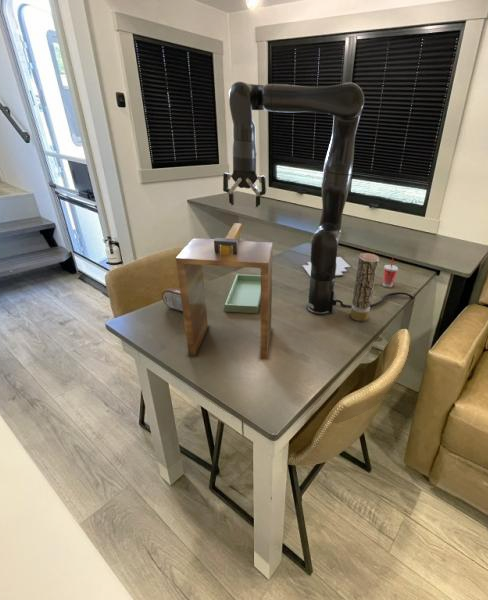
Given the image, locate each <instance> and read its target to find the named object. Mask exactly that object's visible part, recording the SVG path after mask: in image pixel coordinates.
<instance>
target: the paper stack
mask: <svg viewBox="0 0 488 600" xmlns="http://www.w3.org/2000/svg"><path fill="white" fill-rule="evenodd" d="M306 263H307V264H303V265H302V267H303V269H304V270H305V271H306V274H308V276H309V277H310V276H311V261H307V262H306ZM336 264H337V265H336V273H335V276H343V275H344V273H343V272H348V270H347V269H346V268H351V265H350V264H349V263H348V262H347V261H346V260H344V259H343V258H342V256H336Z"/></svg>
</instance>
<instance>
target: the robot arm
mask: <svg viewBox="0 0 488 600" xmlns="http://www.w3.org/2000/svg"><path fill="white" fill-rule="evenodd" d="M228 94H229V95H228V103H229V104H228V105H229V110H230V116H231V121H232V173H229V172H227V171H226V172H224V173H223V178H222V179H223V180H222V191H223V192H224V193H227V194H228V203H229V204H230V205H231V206H234V205H235V193H234V192H235V190H236V189H237V188H240V189H247V190H248V189H251V190H252V191H253V192H254V194H255V208H258V207H259V206H260V205H261V197H262V196H264V195H266V193H267V185H266V176H265V175H264V174H263V175H258V174H257V145H256V144H257V143H256V124H255V122H254V120H253V111H267V112H273V113H319V114H324V115H325V114H326V115H330V116H333V123H332V131H331V133H332V134H331V138H330V142H329V145H328V150H327V152H326V156H325V159H324V164H323V170H322V179H321V202H322V203H321V205H322V209H321V216H320V220H319V224H318V227H317V230H316V231H315V232H314V233H313V236H312V239H311V243H310V244H311V245H310V246H311V247H310V262H311V276H310V275H309V279H310V280H309V290H308V302H307V310H308V311H309V312H310V313H312V314H315V315H327V314H332V312H333V306H334V307H336V306H337V303H339V305H340V306H342V307H344V308H351V307H352V305H347V304H344V303H343V301H341V300H340V299H337V296H336V294H335V280H336V275H335V273H336V265H337V264H336V257H338V256H337V255H338V248H339V245H340V242H341V240H342V224H343V223H342V222H343V213H344V209H345V205H346V202H347V198H348V194H349V189H350V184H351V180H352V175H353V166H354V156H355V141H356V135H357V131H358V126H359V122H360V118H361V115H362V112H363V110H364V106H365V94H364V91H363V90H362V88H361V87H360V86H359V85H358V84H357V83H354V82H352V81H351V82H345V83H340V84H335V85H328V86H305V85H295V84H285V83H284V84H282V83H267V84H254V83H247V82H243V81H236V82H234V83H233V84H232V85H231V86H230V89H229V92H228ZM231 179H232V180H233V182H234V183H233V185H232V186H231V188H229V181H230V180H231ZM257 181H258V183H260V185H261V190H260V189H259V188H258V186H257V184H256V182H257ZM397 295H402V296H403V295H404V296H407V297H409V298H411V299H414V296H413V295H412V294H410V293H408V292H403V291H402V292H401V291H399V292H390V293H386V294H385V295H384V296H383V298H382V299H381V300H379V301H378V302H375V303H371V304H370V308H372V307H376V306H378V305H380V304H382V303H384V302H385V301H386V299H387V297H389V296H397Z"/></svg>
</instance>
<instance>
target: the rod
mask: <svg viewBox="0 0 488 600" xmlns="http://www.w3.org/2000/svg"><path fill="white" fill-rule="evenodd" d="M242 231H243V224H242V223H238V222H233V224H232V226H231V228H230V230H229V231H228V233H227V235H226V236H225V238H227V239H238V240H239V238H240V235H241V234H242ZM220 249H221V255H230V254H231V252H232V250H233V245H221V246H220Z"/></svg>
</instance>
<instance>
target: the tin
mask: <svg viewBox="0 0 488 600" xmlns="http://www.w3.org/2000/svg"><path fill="white" fill-rule="evenodd" d="M161 298H162V300H163V303H164V304H165V305H166V306H167V307H168V308H169V309H172V310H175V311H179V312H182V313H183V309H182V301H181V294H180V288H177V287H173V286H170V287H167V288H166V289H165V290H164V291H162V293H161Z"/></svg>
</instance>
